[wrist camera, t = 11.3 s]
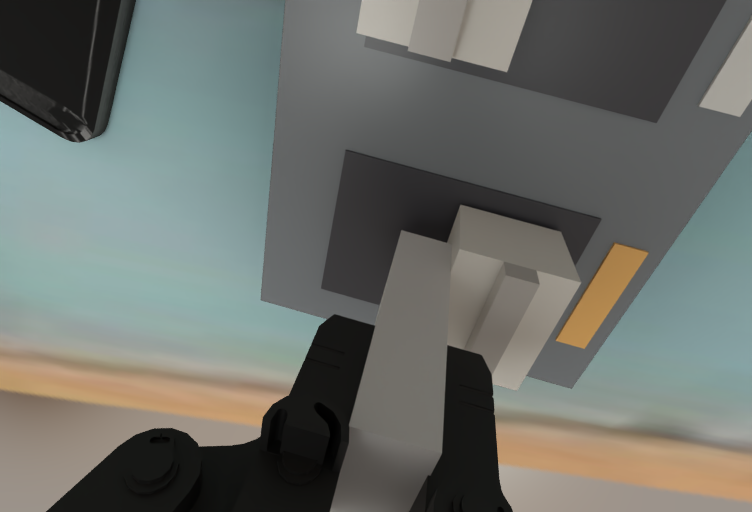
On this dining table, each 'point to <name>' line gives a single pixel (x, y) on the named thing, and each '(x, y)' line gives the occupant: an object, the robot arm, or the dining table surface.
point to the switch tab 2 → (506, 290)
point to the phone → (63, 61)
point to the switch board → (503, 149)
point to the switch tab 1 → (449, 27)
